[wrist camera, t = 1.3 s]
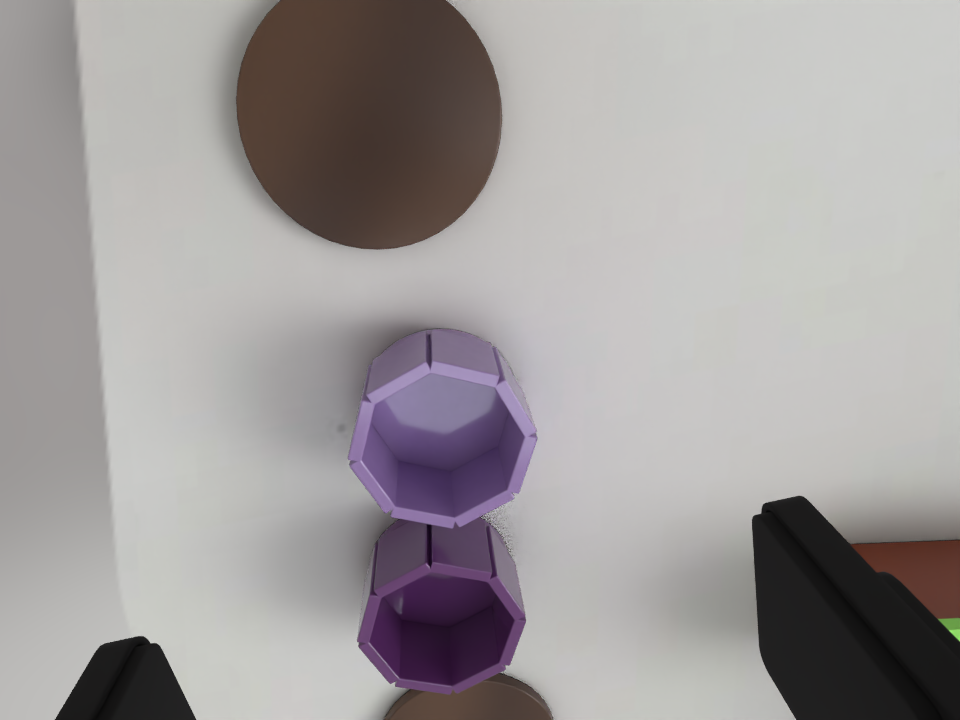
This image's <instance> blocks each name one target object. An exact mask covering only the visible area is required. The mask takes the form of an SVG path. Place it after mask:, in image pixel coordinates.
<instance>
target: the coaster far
mask: <svg viewBox="0 0 960 720" xmlns="http://www.w3.org/2000/svg"><path fill="white" fill-rule="evenodd" d="M384 720H553V717H552V714H551V712H550V709H549V708H548V706H547V704H546V703H545V701H544V700H543V699H542V698H541V697H540V695H539V694H538V693H536V692H535V691H534V690H533V689H532V688H530V687H529V686H527V685H526V684H524V683H523V682H520V681H518V680H516V679H514V678H511V677H508V676H505V675H502V674H496V675H494V676H492V677H490V678H488V679H486V680H484V681H482V682H480V683H478V684H476V685H474V686H472V687H470V688H468V689H466V690H463V691H461V692H459V693H455V691H454V690H452V693H451V695H448V694H441V693H435V692H428V691H421V690H414V689H411V690H410V691H408V692H407V693H406V694H404V695H403V696H402V697H401V698H400V699H399V700H398V701H397V702H396V703H395V704H394V705H393V706H392V708H391V709H390V710H389V712H388V714H387V715H386V717H385V719H384Z"/></svg>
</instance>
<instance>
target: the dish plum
mask: <svg viewBox="0 0 960 720" xmlns="http://www.w3.org/2000/svg"><path fill="white" fill-rule="evenodd" d="M525 623H526V618H525V611H524V605H523V600H522V595H521V590H520V585H519V580H518V575H517V570H516V564H515V562H514V560H513V559H512V557H511V556H510V554H509V552H508V549H507V546H506V544H505V542H504V540H503V538H502V537H501V535H500V534H499V533H498V531H497V530H496V529H495V528H494V527H493V526H492V525H491V524H489V523H488V522H486V521H485V520H484V519H482V518H480V517H478V518H477V519H475V520H473V521H471V522H469V523H467V524H465V525H463V526H461V527H459V526H458V525H457V524H456V522H455V524H454V527H453V528H447V527H441V526H436V525H431V524H425V523H420V522H415V521H409V520H404V519H400V520H398V521H396V522H395V523H394V524H392V525H391V526H390V527H389V528H387V529H386V531H385V532H384V533H383V534H382V535H381V536H380V538H379V539H378V540H377V542H376V543H375V545H374V547H373V550H372V553H371V556H370V561H369V567H368V571H367V575H366V579H365V583H364V588H363V596H362V604H361V612H360V620H359V628H358V636H357V642H359V645H358V646H359V648H360V649H361V651H362V652H363V653H364V654H365V655H366V656H367V658H368V659H369V660H370V661H371V662H372V664H373V665H374V666H375V667H376V668H377V669H378V671H379V672H380V673H381V674H382V675H383V676H384V678H385V679H386V680H387V681H388V682H389V683H390V684H392V683H394V682H395V687H400V688H407V689H414V690H421V691H428V692H435V693H441V694H448V695H451V693H452V690H454V691H455V693H459V692H461V691H463V690H466V689H468V688H470V687H472V686H474V685H476V684H478V683H480V682H482V681H484V680H486V679H488V678H490V677H492V676H494V675H496V674H498V673H500V672H502V671H504V670H505V669H506V667H505V665H510V663H511V661H512V658H513V655H514V653H515V650H516V647H517V645H518V642H519V639H520V636H521V634H522V631H523V628H524V626H525Z"/></svg>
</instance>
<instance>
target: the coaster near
mask: <svg viewBox="0 0 960 720" xmlns="http://www.w3.org/2000/svg"><path fill="white" fill-rule="evenodd" d="M236 105H237V120H238V126H239V132H240V137H241V140H242V144H243V147H244V150H245V153H246V156H247V158H248V160H249V163H250V165H251V167H252V169H253V172H254V173H255V175H256V177H257V178H258V180H259V182H260V183H261V185H262V187H263V188H264V189H265V191H266V192H267V193H268V194H269V196H270V197H271V198H272V200H273V201H274V202H275V203H276V204H277V205H278V206H279V207H280V208H281V209H282V210H283V211H284V212H285V213H286V214H287V215H288V216H290V217H291V218H292V219H293V220H295V221H296V222H297V223H298V224H300V225H301V226H303V227H304V228H306V229H308V230H309V231H311V232H313V233H314V234H316V235H318V236H321V237H323V238H325V239H327V240H329V241H332V242H336V243H339V244H342V245H345V246H350V247H356V248H361V249H391V248H398V247H403V246H407V245H411V244H414V243H417V242H420V241H423V240H425V239H427V238H429V237H431V236H433V235H435V234H437V233H439V232H441V231H442V230H443V229H445V228H446V227H448V226H449V225H451V224H452V223H453V222H455V221H456V220H457V219H458V218H459V217H460V216H461V215H462V214H463V213H465V211H466V210H467V209H468V208H469V207H470V206H471V204H472V203H473V202H474V201H475V200H476V198H477V197H478V195H479V194H480V192H481V190H482V189H483V187H484V186H485V184H486V182H487V180H488V178H489V176H490V173H491V171H492V169H493V166H494V163H495V160H496V157H497V153H498V148H499V143H500V139H501V127H502V107H501V97H500V91H499V85H498V81H497V78H496V75H495V71H494V68H493V65H492V63H491V60H490V58H489V56H488V53H487V51H486V49H485V47H484V46H483V44H482V42H481V40H480V39H479V37H478V35H477V34H476V32H475V31H474V30H473V28H472V27H471V26H470V24H469V23H468V22H467V20H466V19H465V18H464V17H463V16H462V15H461V14H460V13H459V12H458V11H457V10H456V9H455V8H454V7H453V6H452V5H451V4H450V3H449V2H447V1H446V0H280V1H279V2H278V3H277V4H276V5H275V6H274V7H273V8H272V9H271V10H270V12H269V13H268V14H267V15H266V16H265V18H264V19H263V20H262V22H261V23H260V25H259V26H258V27H257V29H256V31H255V33H254V34H253V36H252V38H251V40H250V42H249V44H248V46H247V49H246V52H245V55H244V57H243V60H242V63H241V68H240V73H239V77H238V83H237V96H236Z"/></svg>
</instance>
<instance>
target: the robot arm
mask: <svg viewBox="0 0 960 720" xmlns="http://www.w3.org/2000/svg"><path fill="white" fill-rule="evenodd" d="M752 531H753V548H754V565H755V582H756V600H757V617H758V634H759V648H760V653H761V656H762V659H763V662H764V665H765V667H766V669H767V671H768V673H769V675H770V676H771V678H772V680H773V681H774V683H775V685H776V686H777V688H778V690H779V691H780V693H781V695H782V696H783V698H784V700H785V702H786V703H787V705H788V707H789V708H790V710H791V712H792V713H793V715H794V717H795V718H796V720H960V641H959V640H958V639H957V638H956V637H955V636H954V635H953V634H952V633H951V632H950V631H949V630H948V629H947V628H946V627H945V626H944V625H943V624H942V623H941V622H940V621H939V620H938V619H937V618H936V617H935V616H934V615H933V614H932V613H931V612H930V611H929V610H928V609H927V608H926V607H925V606H924V605H923V604H922V603H921V602H920V601H919V600H918V599H917V598H916V597H915V596H914V594H913V593H912V592H911V591H910V590H909V589H908V588H907V587H906V586H905V585H904V584H903V583H902V582H901V581H899V580H898V579H897V578H896V577H895V576H893V575H892V574H890V573H887V572H884V571H883V572H878V573H877V572H876V571H875V570H874V569H873V568H872V567H871V566H870V565H869V564H868V563H867V562H866V561H865V560H864V559H863V558H862V556H861V555H860V554H859V553H858V552H857V551H856V550H855V549H854V548H853V547H852V546H851V545H850V544H849V543H848V542H847V541H846V540H845V539H844V538H843V537H842V535H841V534H840V533H839V532H838V531H837V530H836V529H835V528H834V527H833V526H832V525H831V524H830V523H829V522H828V521H827V520H826V519H825V518H824V517H823V516H822V514H821V513H820V512H819V511H818V510H817V509H816V508H815V507H814V506H813V505H812V504H811V503H810V502H809V501H808V500H807V499H806V498H804V497H803V496H796V497H791V498H787V499H782V500H777V501H773V502H768V503H765V504H763V506H762V513H761V514H758V515H755V516H753V519H752ZM55 720H196V718H195V716H194V714H193V712H192V710H191V708H190V706H189V704H188V702H187V700H186V698H185V696H184V694H183V692H182V690H181V688H180V685H179V683H178V681H177V679H176V677H175V675H174V673H173V671H172V669H171V667H170V665H169V663H168V661H167V659H166V657H165V655H164V653H163V651H162V649H161V647H160V646H159V645H158V644H156V643H152V644H151V643H150V642H149V641H148V639H146V638H145V637H143V636H138V637H133V638H128V639H124V640H119V641H114V642H110V643H105V644H103V645H101V646H100V647H99V648H98V650H97V651H96V652H95V654H94V655H93V657H92V659H91V660H90V662H89V664H88V665H87V667H86V669H85V670H84V672H83V674H82V675H81V677H80V679H79V680H78V682H77V684H76V686H75V687H74V689H73V690H72V692H71V694H70V696H69V697H68V699H67V700H66V702H65V704H64V705H63V707H62V709H61V710H60V712H59V714H58V716H57V717H56V719H55Z"/></svg>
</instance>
